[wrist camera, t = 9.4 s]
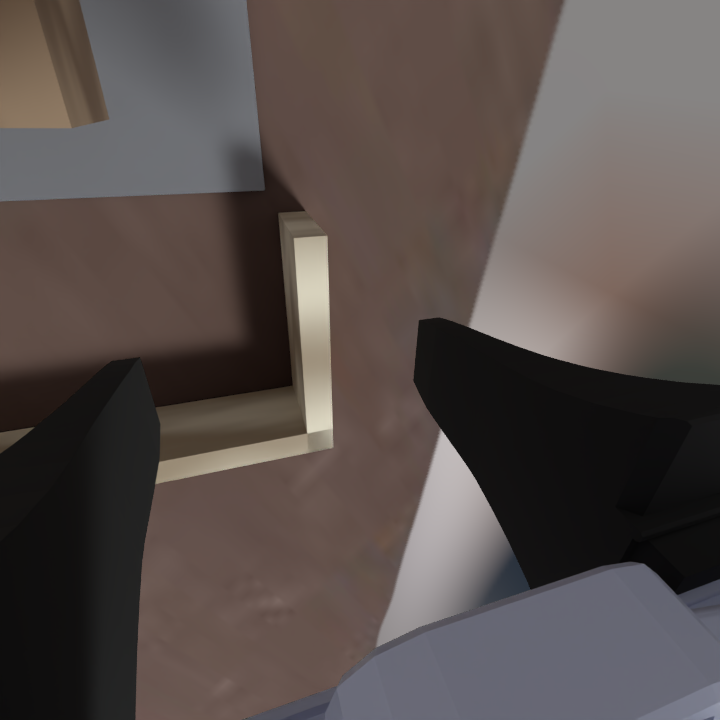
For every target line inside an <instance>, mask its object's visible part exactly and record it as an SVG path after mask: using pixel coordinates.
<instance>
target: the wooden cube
mask: <svg viewBox="0 0 720 720" xmlns="http://www.w3.org/2000/svg"><path fill="white" fill-rule="evenodd" d="M105 120H109V116H108V112H107V108H106V104H105V100H104V96H103V92H102V88H101V84H100V80H99V76H98V72H97V68H96V64H95V60H94V56H93V52H92V49H91V45H90V41H89V37H88V33H87V29H86V25H85V21H84V17H83V13H82V9H81V5H80V1H79V0H0V128H75V127H79V126H84V125H88V124H92V123H96V122H101V121H105Z"/></svg>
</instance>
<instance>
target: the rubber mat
mask: <svg viewBox="0 0 720 720" xmlns="http://www.w3.org/2000/svg"><path fill="white" fill-rule="evenodd" d="M79 1H80V5H81V9H82V13H83V17H84V21H85V25H86V29H87V33H88V37H89V41H90V45H91V49H92V52H93V56H94V60H95V64H96V68H97V72H98V76H99V80H100V84H101V88H102V92H103V96H104V100H105V104H106V108H107V112H108V116H109V120H105V121H101V122H96V123H92V124H88V125H84V126H79V127H75V128H0V201H19V200H43V199H68V198H92V197H117V196H141V195H166V194H190V193H215V192H239V191H264V190H265V185H264V175H263V165H262V155H261V144H260V134H259V124H258V114H257V104H256V94H255V84H254V74H253V64H252V54H251V43H250V33H249V23H248V13H247V3H246V0H79Z"/></svg>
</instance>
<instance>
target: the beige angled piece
mask: <svg viewBox="0 0 720 720" xmlns="http://www.w3.org/2000/svg"><path fill="white" fill-rule="evenodd" d="M278 218H279V229H280V241H281V253H282V264H283V276H284V288H285V299H286V311H287V322H288V334H289V346H290V357H291V369H292V381H293V386H287V387H281V388H275V389H268V390H262V391H256V392H250V393H244V394H237V395H231V396H225V397H219V398H212V399H206V400H200V401H194V402H187V403H181V404H175V405H169V406H163V407H156V411H157V414H158V418H159V421H160V424H161V425H160V459H159V466H158V471H157V477H156V483H155V484H157V483H162V482H167V481H172V480H177V479H182V478H187V477H191V476H196V475H201V474H206V473H211V472H216V471H221V470H226V469H231V468H236V467H241V466H246V465H250V464H255V463H260V462H265V461H270V460H275V459H280V458H285V457H290V456H295V455H300V454H305V453H309V452H314V451H319V450H324V449H329V448H333V425H332V389H331V353H330V317H329V282H328V246H327V235H326V234H325V233H324V231H323V230H322V229H321V228H320V227H319V226H318V225H317V223H316V222H315V221H314V220H313V219H312V218H311V217H310V215H309V214H308V213H307V212H306V211H300V212H282V213H278ZM33 428H34V427H32V428H26V429H19V430H13V431H7V432H1V433H0V453H2V452H3V451H4V450H6V449H7V448H9V447H10V446H11V445H13V444H14V443H15V442H17V441H18V440H19V439H21V438H22V437H23V436H25V435H26V434H27V433H28V432H29V431H31V430H32V429H33Z"/></svg>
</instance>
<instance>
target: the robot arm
mask: <svg viewBox="0 0 720 720" xmlns="http://www.w3.org/2000/svg"><path fill="white" fill-rule="evenodd" d="M413 381H414V383H415V385H416V387H417V389H418V391H419V394H420V396H421V398H422V400H423V402H424V403H425V405H426V407H427V409H428V410H429V412H430V413H431V415H432V416H433V418H434V419H435V421H436V422H437V424H438V425H439V427H440V428H441V429H442V431H443V432H444V434H445V435H446V437H447V438H448V439H449V441H450V442H451V444H452V445H453V446H454V448H455V449H456V450H457V452H458V453H459V455H460V456H461V458H462V459H463V461H464V462H465V463H466V465H467V466H468V468H469V469H470V471H471V472H472V474H473V476H474V477H475V479H476V480H477V482H478V484H479V486H480V488H481V490H482V492H483V493H484V495H485V497H486V499H487V501H488V502H489V504H490V506H491V508H492V510H493V512H494V514H495V516H496V518H497V520H498V522H499V523H500V525H501V527H502V529H503V531H504V533H505V535H506V537H507V539H508V541H509V543H510V545H511V548H512V550H513V552H514V554H515V556H516V558H517V560H518V562H519V565H520V567H521V569H522V571H523V573H524V575H525V577H526V579H527V582H528V584H529V587H530V589H531V590H529V591H526V592H523V593H520V594H517V595H514V596H511V597H508V598H505V599H502V600H500V601H496V602H493V603H490V604H487V605H484V606H481V607H478V608H475V609H472V610H469V611H466V612H463V613H460V614H457V615H454V616H451V617H449V618H445V619H442V620H439V621H437V622H434V623H431V624H428V625H425V626H422V627H419V628H417V629H415V630H413V631H411V632H409V633H406V634H404V635H402V636H400V637H398V638H396V639H394V640H392V641H389V642H387V643H385V644H383V645H381V646H379V647H377V648H375V649H374V650H373V651H371V652H370V653H369V654H368V655H367V656H365V657H364V658H363V659H362V660H361V661H359V662H358V663H357V664H356V665H355V666H353V667H352V668H351V669H350V670H349V671H347V672H346V673H345V674H344V675H343V676H342V678H341V680H340V682H339V684H338V686H336V687H333V688H330V689H327V690H325V691H322V692H319V693H316V694H313V695H310V696H308V697H305V698H302V699H299V700H296V701H294V702H291V703H288V704H285V705H282V706H279V707H277V708H274V709H271V710H268V711H265V712H262V713H260V714H257V715H254V716H251V717H248V718H246V719H243V720H720V385H712V384H698V383H697V384H696V383H684V382H675V381H667V380H659V379H650V378H643V377H636V376H631V375H624V374H619V373H614V372H608V371H603V370H598V369H593V368H589V367H585V366H580V365H577V364H573V363H569V362H565V361H562V360H557V359H554V358H551V357H547V356H544V355H541V354H538V353H535V352H532V351H529V350H526V349H523V348H520V347H517V346H514V345H512V344H509V343H507V342H504V341H501V340H499V339H496V338H493V337H491V336H489V335H486V334H483V333H481V332H478V331H476V330H474V329H471V328H469V327H466V326H463V325H461V324H458V323H455V322H453V321H450V320H446V319H443V318H432V319H425V320H419V326H418V337H417V348H416V358H415V369H414V380H413ZM160 425H161V424H160V421H159V418H158V414H157V411H156V408H155V405H154V401H153V398H152V395H151V392H150V388H149V385H148V382H147V379H146V375H145V372H144V369H143V366H142V362H141V359H140V357H139V358H132V359H124V360H117V361H111V362H110V363H109V364H107V365H106V366H105V367H104V368H102V369H101V370H100V371H99V372H98V373H97V374H96V375H95V376H93V377H92V378H91V379H90V380H89V381H88V382H87V383H86V384H85V385H84V386H83V387H81V388H80V389H79V390H78V391H77V392H76V393H75V394H74V395H72V396H71V397H70V398H69V399H68V400H67V401H66V402H65V403H63V404H62V405H61V406H60V407H59V408H58V409H57V410H55V411H54V412H53V413H52V414H50V415H49V416H48V417H47V418H45V419H44V420H43V421H42V422H41V423H39V424H38V425H37V426H36V427H34V428H33V429H32V430H31V431H29V432H28V433H27V434H26V435H25V436H23V437H22V438H21V439H19V440H18V441H17V442H15V443H14V444H13V445H11V446H10V447H9V448H7V449H6V450H4V451H3V452H2V453H0V720H135V706H136V670H137V641H138V620H139V600H140V585H141V570H142V558H143V551H144V543H145V537H146V532H147V526H148V521H149V516H150V510H151V505H152V499H153V494H154V488H155V483H156V477H157V471H158V466H159V459H160Z"/></svg>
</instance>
